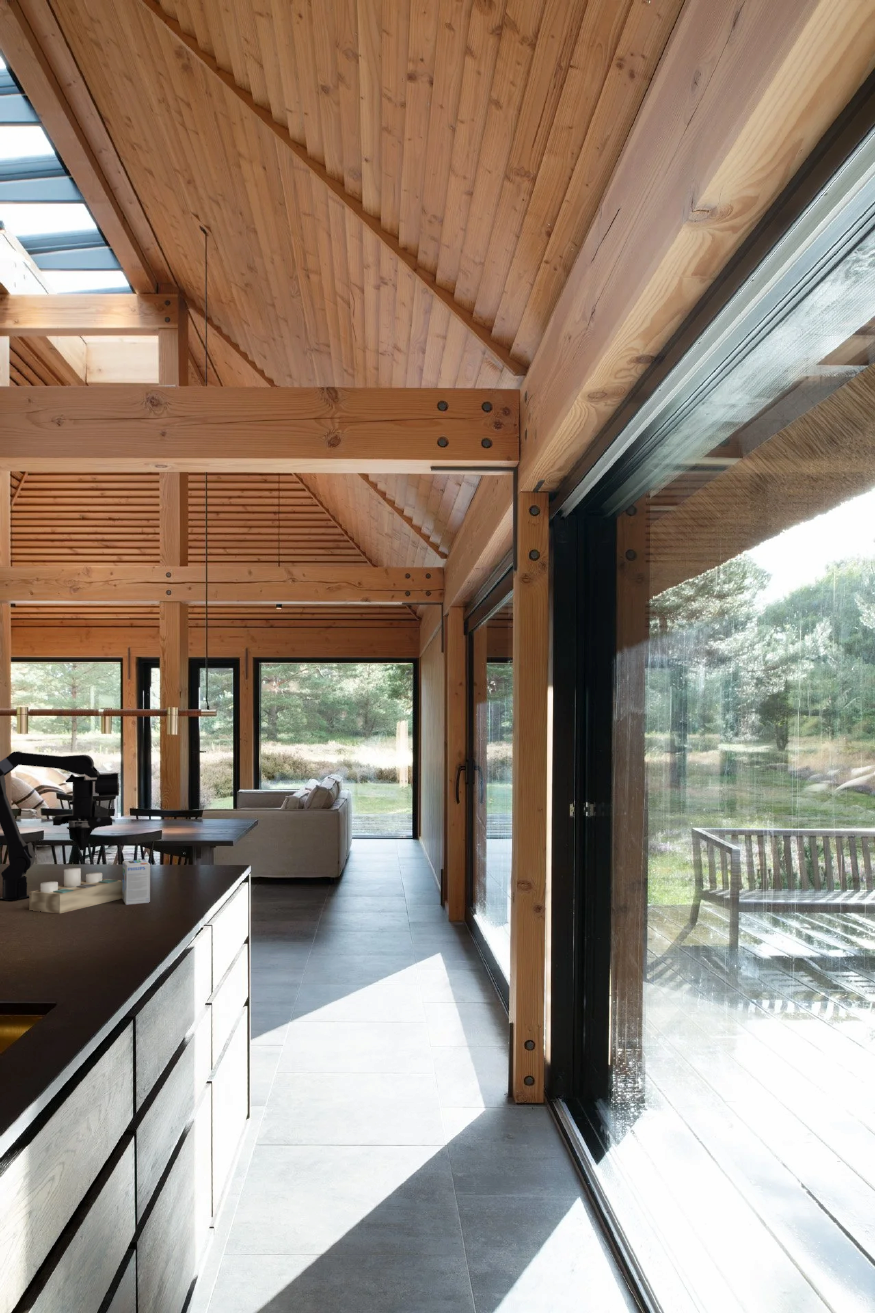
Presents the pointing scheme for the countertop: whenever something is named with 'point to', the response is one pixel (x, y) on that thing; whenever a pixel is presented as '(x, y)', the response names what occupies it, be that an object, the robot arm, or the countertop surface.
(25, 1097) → the countertop surface
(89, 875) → the button
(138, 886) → the light bulb box
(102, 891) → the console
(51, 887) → the button
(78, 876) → the button
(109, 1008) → the countertop surface
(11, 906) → the countertop surface
